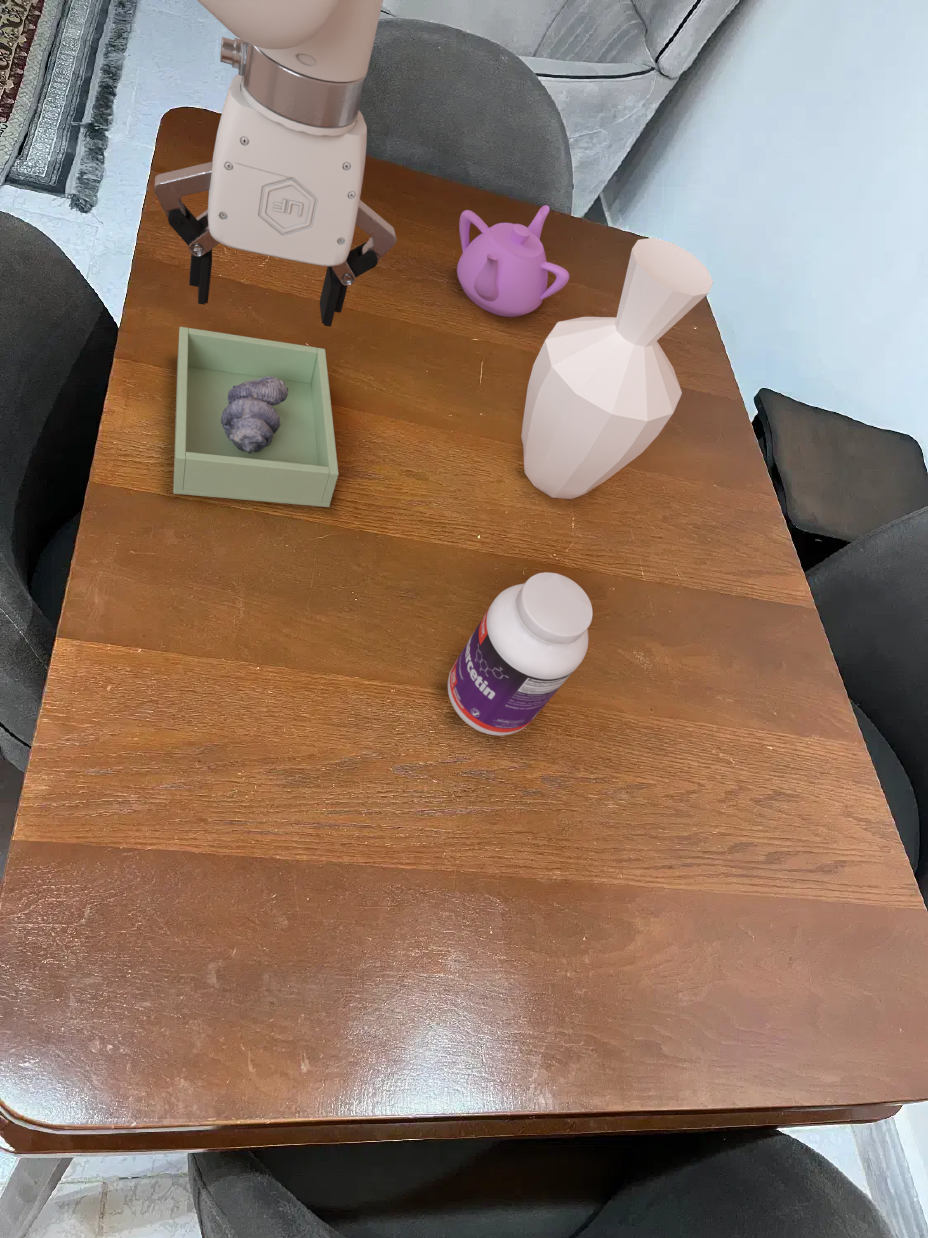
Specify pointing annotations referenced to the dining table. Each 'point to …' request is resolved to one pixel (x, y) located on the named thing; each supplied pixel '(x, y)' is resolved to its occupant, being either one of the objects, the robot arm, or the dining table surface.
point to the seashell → (253, 413)
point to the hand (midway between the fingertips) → (265, 304)
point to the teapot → (506, 266)
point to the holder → (299, 447)
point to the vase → (609, 376)
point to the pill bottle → (521, 653)
